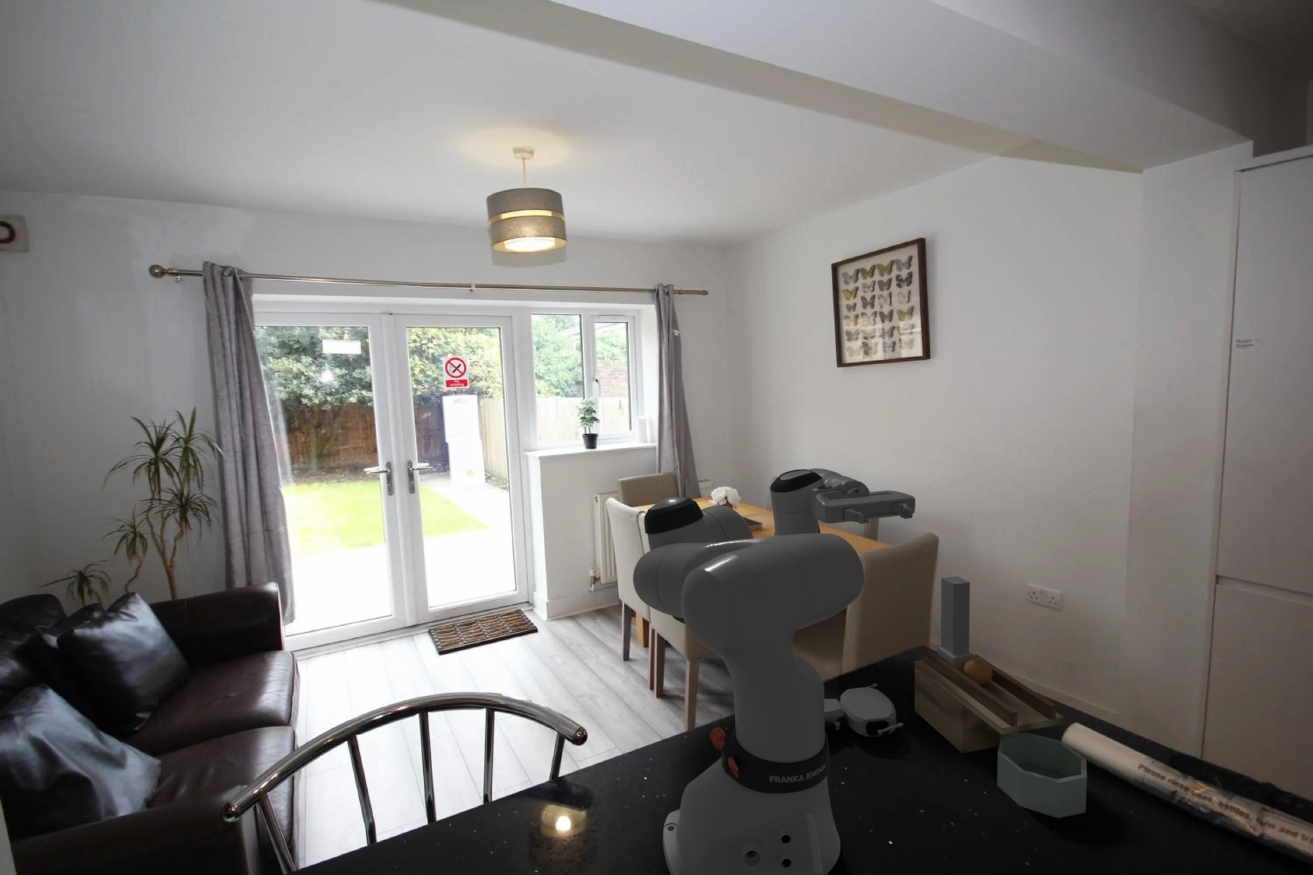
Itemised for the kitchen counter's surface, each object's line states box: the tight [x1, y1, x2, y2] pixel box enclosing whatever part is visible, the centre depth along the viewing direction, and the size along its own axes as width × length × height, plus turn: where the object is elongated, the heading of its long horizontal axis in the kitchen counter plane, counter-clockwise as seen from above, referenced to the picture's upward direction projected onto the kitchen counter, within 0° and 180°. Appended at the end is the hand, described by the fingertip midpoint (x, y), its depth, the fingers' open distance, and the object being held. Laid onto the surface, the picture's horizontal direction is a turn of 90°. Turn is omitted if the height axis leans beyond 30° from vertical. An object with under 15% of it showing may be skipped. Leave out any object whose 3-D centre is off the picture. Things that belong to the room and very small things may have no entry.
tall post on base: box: [936, 575, 978, 673], centre depth 100 cm, size 4×4×15 cm
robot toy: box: [824, 683, 904, 738], centre depth 101 cm, size 12×4×15 cm
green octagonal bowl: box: [996, 731, 1088, 819], centre depth 84 cm, size 10×10×5 cm
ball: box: [964, 658, 993, 685], centre depth 95 cm, size 4×4×4 cm
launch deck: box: [914, 648, 1065, 754], centre depth 95 cm, size 10×20×11 cm, turn 11°
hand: (887, 517), depth 115 cm, fingers open, 8 cm apart
